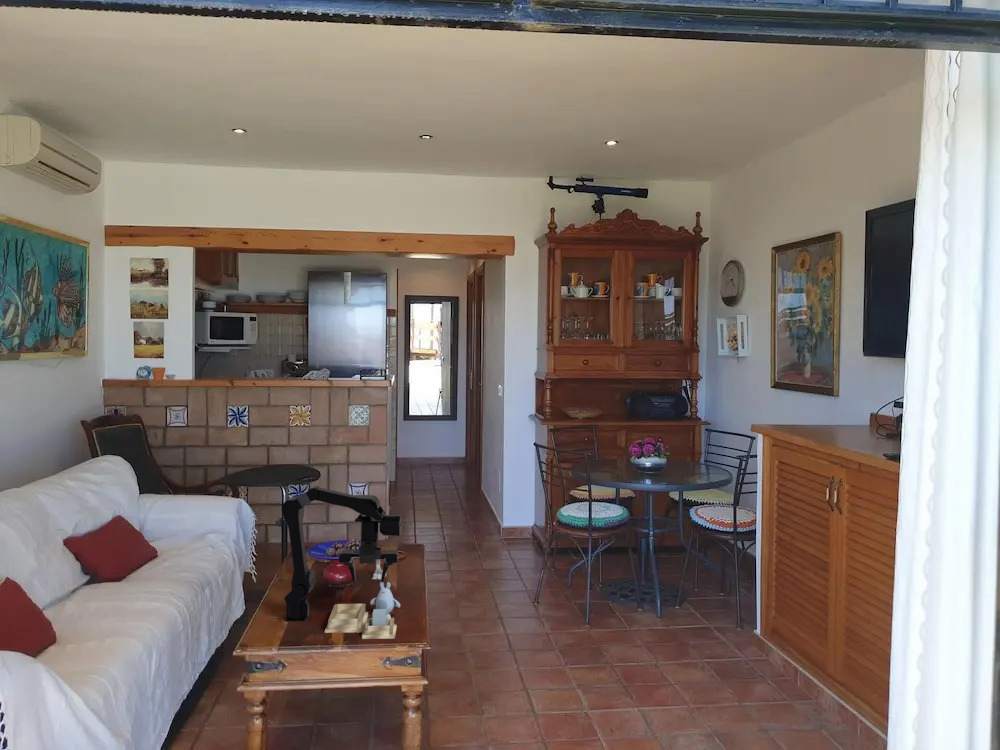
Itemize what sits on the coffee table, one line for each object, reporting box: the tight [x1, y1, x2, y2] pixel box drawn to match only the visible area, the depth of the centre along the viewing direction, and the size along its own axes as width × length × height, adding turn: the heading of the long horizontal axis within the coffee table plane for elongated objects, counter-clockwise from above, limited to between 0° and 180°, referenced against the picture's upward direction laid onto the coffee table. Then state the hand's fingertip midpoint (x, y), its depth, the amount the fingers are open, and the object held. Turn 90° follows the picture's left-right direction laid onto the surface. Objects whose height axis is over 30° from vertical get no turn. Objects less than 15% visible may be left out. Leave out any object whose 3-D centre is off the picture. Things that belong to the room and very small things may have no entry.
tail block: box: [372, 608, 387, 626], centre depth 236 cm, size 4×4×6 cm
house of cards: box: [371, 559, 387, 580], centre depth 292 cm, size 9×9×8 cm
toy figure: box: [369, 581, 401, 618], centre depth 250 cm, size 11×6×12 cm, turn 76°
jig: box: [324, 603, 398, 640], centre depth 242 cm, size 22×21×4 cm
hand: (368, 582), depth 247 cm, fingers open, 9 cm apart
